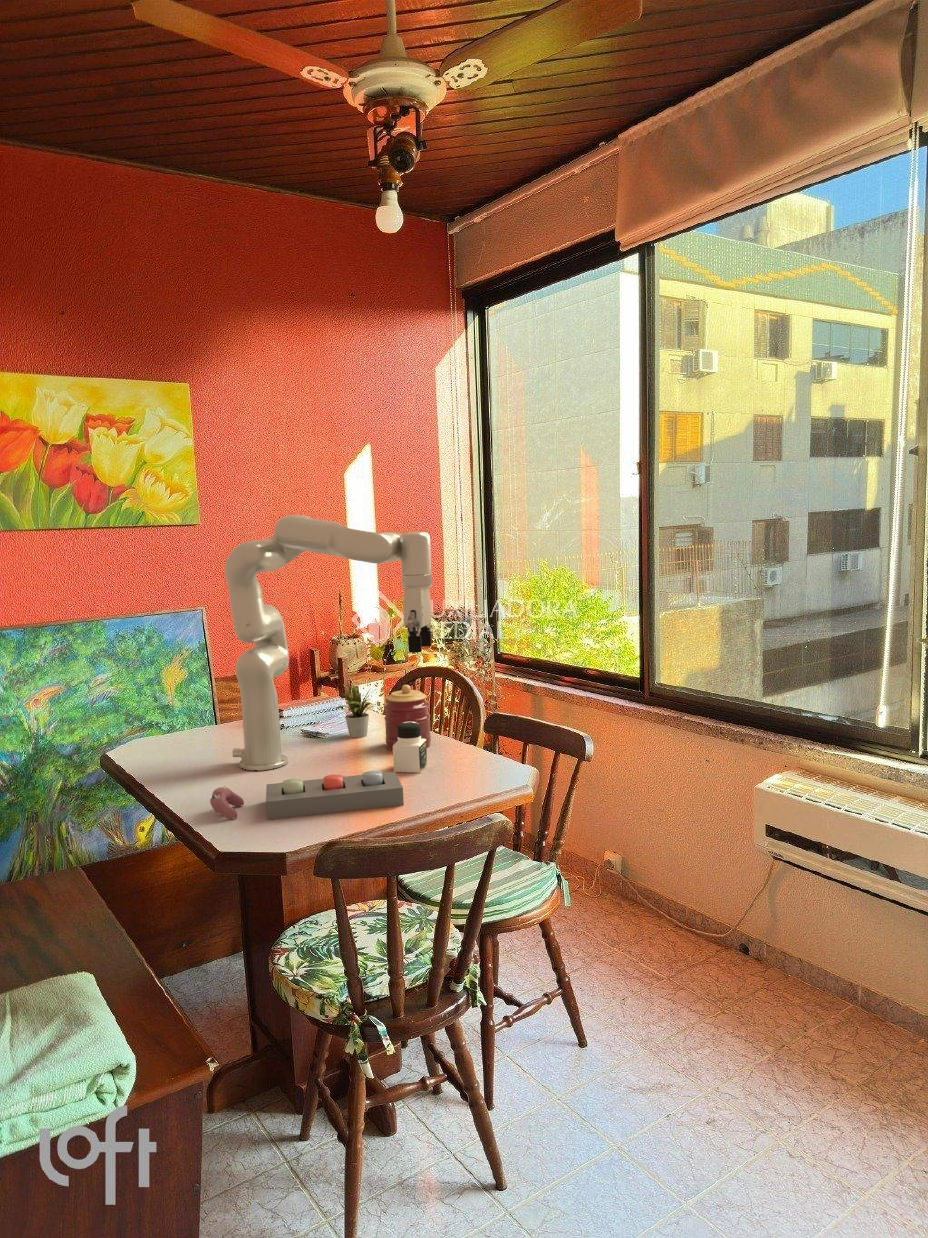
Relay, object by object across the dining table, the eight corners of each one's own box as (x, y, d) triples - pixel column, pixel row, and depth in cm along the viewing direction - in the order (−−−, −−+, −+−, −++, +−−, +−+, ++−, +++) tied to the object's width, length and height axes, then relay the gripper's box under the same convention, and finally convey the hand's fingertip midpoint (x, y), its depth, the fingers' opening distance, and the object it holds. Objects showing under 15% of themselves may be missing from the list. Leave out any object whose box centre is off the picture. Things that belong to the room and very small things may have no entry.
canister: (418, 737, 251) (415, 678, 249) (439, 746, 240) (437, 685, 238) (378, 744, 244) (375, 684, 242) (398, 754, 233) (395, 691, 231)
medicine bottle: (420, 773, 215) (418, 726, 213) (393, 772, 216) (391, 726, 215) (427, 765, 222) (425, 720, 220) (401, 764, 223) (399, 719, 222)
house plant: (321, 736, 256) (318, 683, 255) (359, 727, 266) (356, 676, 264) (349, 744, 246) (346, 688, 244) (387, 734, 255) (384, 681, 253)
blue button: (364, 790, 193) (363, 777, 193) (362, 785, 197) (362, 771, 197) (383, 788, 194) (383, 775, 194) (381, 783, 198) (380, 769, 198)
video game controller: (228, 812, 195) (212, 787, 194) (246, 803, 195) (230, 777, 194) (220, 828, 185) (203, 801, 184) (238, 817, 185) (222, 791, 184)
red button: (324, 795, 191) (323, 781, 191) (323, 789, 195) (322, 775, 195) (344, 793, 192) (343, 779, 192) (342, 787, 196) (342, 773, 196)
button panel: (267, 819, 185) (265, 801, 184) (267, 801, 197) (266, 784, 197) (403, 804, 191) (402, 787, 190) (395, 787, 203) (395, 771, 203)
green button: (283, 799, 189) (283, 785, 189) (283, 793, 193) (282, 779, 193) (303, 797, 190) (303, 783, 190) (303, 791, 194) (302, 777, 194)
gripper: (412, 579, 222) (414, 644, 224) (392, 584, 205) (396, 654, 207) (439, 578, 220) (442, 644, 222) (422, 584, 203) (426, 654, 205)
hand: (420, 649), depth 214 cm, fingers open, 9 cm apart
